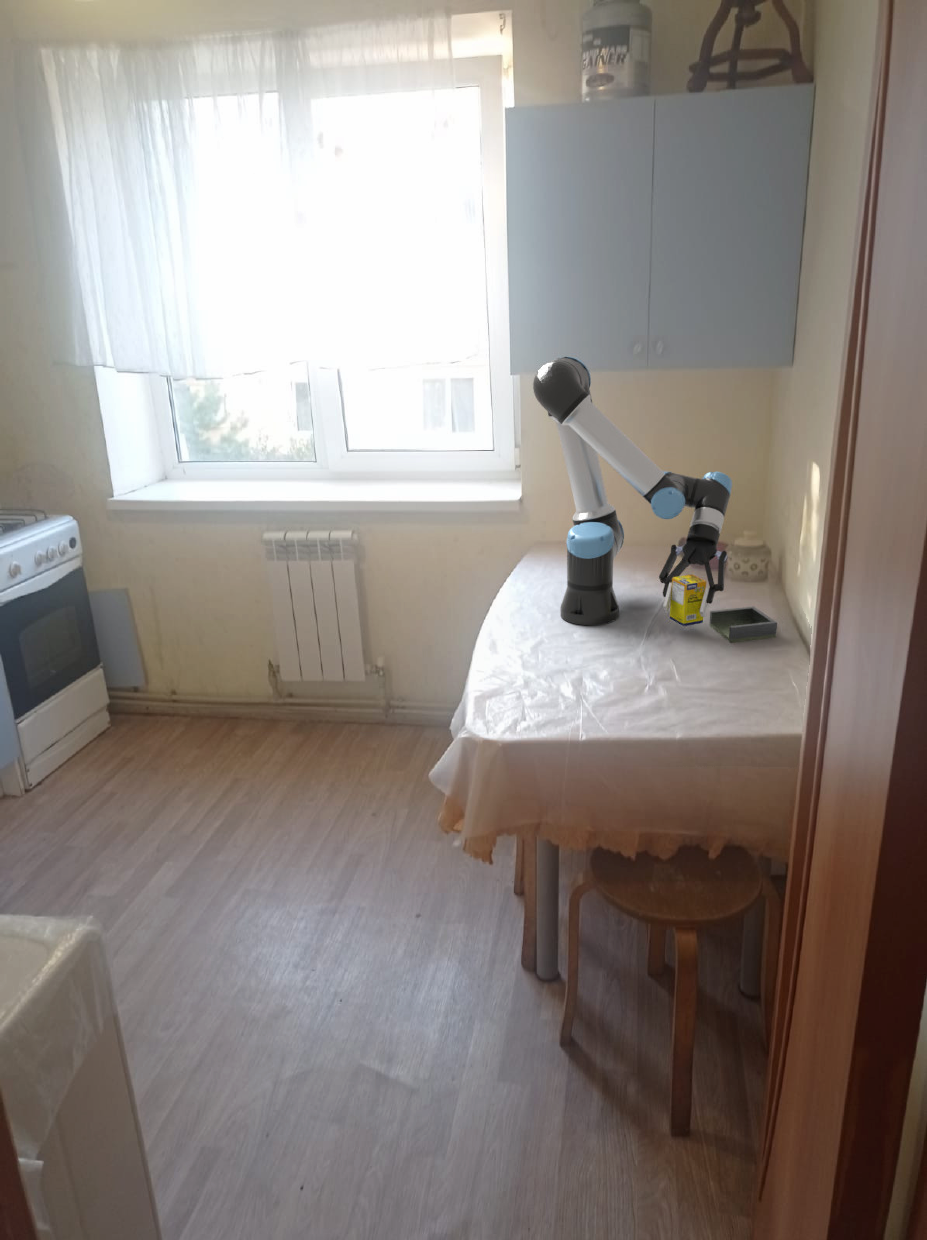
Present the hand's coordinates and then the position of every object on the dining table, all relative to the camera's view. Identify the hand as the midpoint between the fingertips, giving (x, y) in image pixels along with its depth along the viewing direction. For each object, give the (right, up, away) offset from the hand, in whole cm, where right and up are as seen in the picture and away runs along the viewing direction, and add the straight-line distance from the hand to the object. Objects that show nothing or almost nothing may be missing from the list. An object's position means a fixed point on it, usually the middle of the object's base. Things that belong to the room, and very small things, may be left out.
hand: (683, 611), depth 212 cm
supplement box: (+2, -3, +4) cm, 5 cm away
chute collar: (+15, -5, +3) cm, 16 cm away
